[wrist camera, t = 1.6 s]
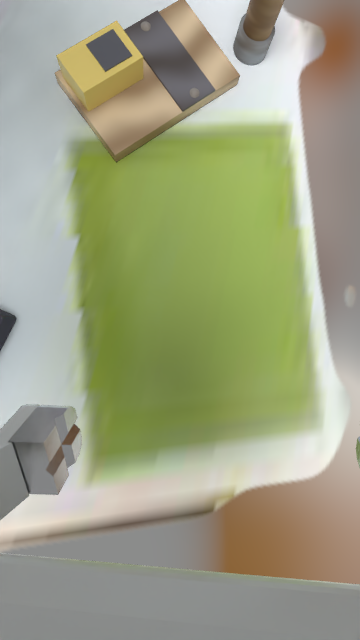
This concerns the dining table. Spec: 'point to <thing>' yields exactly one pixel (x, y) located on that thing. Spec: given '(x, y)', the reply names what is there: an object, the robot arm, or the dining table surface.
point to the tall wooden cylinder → (256, 30)
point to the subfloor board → (160, 80)
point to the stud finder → (101, 66)
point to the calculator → (5, 325)
